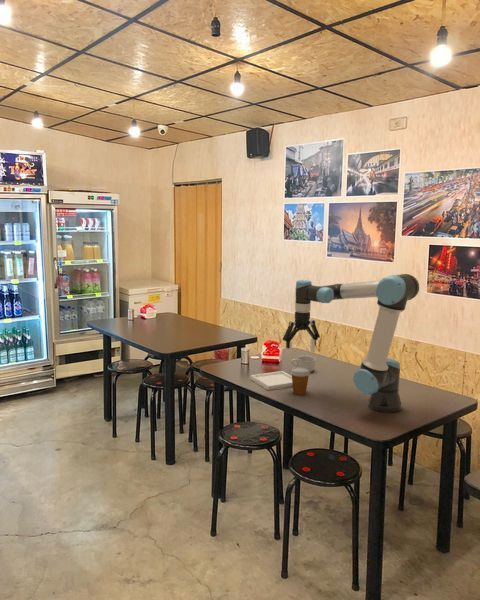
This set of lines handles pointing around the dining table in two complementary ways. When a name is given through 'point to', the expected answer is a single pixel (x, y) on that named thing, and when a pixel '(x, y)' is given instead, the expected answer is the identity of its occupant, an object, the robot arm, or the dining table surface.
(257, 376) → the tray
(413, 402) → the dining table surface
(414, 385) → the dining table surface
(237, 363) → the dining table surface
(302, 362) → the teacup
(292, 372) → the disposable coffee cup
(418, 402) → the dining table surface
